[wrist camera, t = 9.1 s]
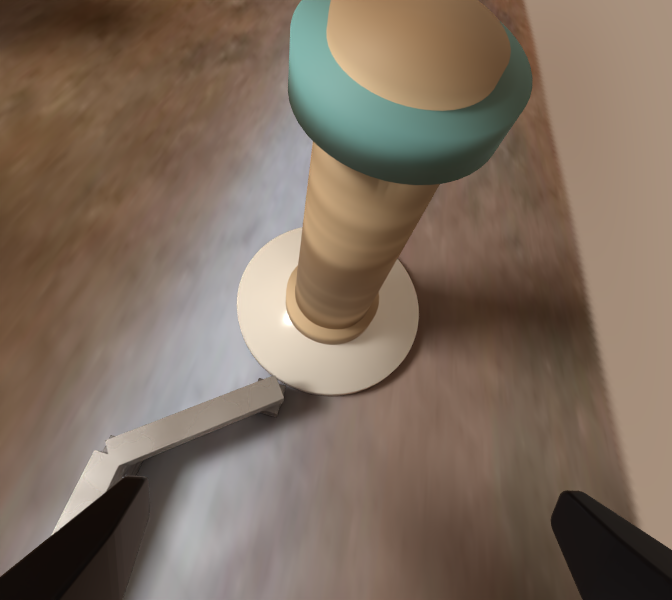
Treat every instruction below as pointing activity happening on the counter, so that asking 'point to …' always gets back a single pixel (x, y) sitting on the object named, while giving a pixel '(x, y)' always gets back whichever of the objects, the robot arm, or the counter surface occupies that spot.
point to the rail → (168, 439)
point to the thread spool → (387, 136)
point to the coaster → (312, 357)
